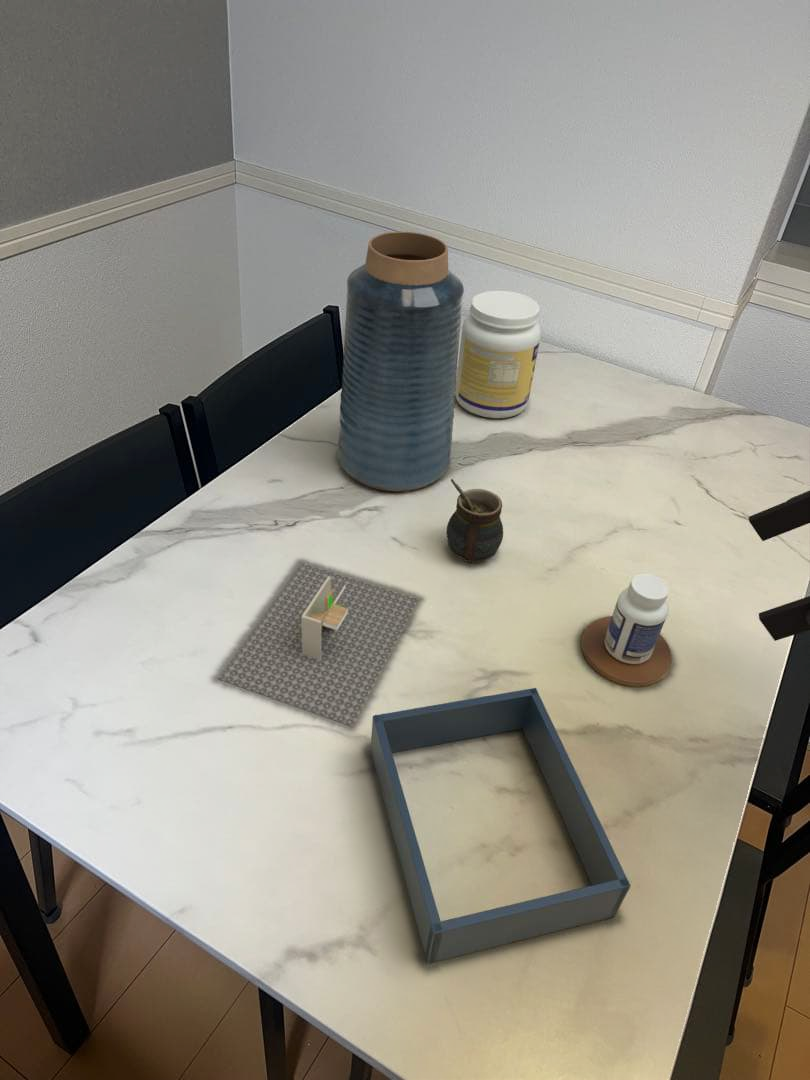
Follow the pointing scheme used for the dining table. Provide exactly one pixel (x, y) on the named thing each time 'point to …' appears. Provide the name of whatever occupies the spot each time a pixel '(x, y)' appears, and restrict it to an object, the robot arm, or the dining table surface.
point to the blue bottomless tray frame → (567, 793)
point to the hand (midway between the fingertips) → (760, 574)
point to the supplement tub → (498, 354)
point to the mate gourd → (475, 525)
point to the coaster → (619, 670)
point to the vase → (400, 363)
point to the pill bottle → (638, 619)
